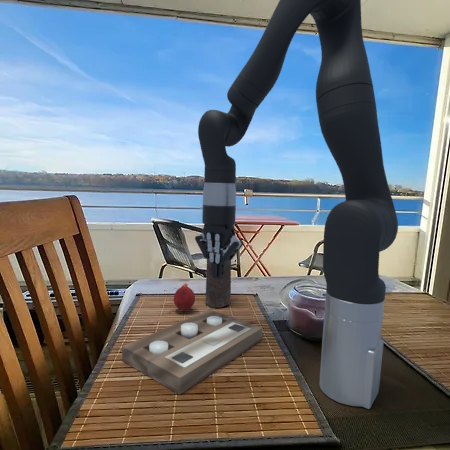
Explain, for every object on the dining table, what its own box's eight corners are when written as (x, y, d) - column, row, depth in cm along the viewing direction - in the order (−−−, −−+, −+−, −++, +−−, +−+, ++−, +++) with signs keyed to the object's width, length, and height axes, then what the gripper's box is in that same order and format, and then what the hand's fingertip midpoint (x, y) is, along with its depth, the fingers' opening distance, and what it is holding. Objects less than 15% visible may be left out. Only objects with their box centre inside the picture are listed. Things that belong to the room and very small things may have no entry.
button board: (261, 340, 75) (262, 326, 75) (179, 394, 55) (180, 376, 54) (208, 320, 85) (209, 308, 84) (122, 360, 64) (122, 344, 64)
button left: (171, 356, 65) (172, 344, 64) (157, 364, 62) (157, 351, 62) (159, 350, 67) (159, 338, 67) (145, 357, 64) (145, 345, 64)
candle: (202, 300, 100) (204, 235, 97) (225, 298, 102) (228, 234, 99) (209, 309, 92) (211, 239, 90) (233, 307, 94) (236, 239, 92)
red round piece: (190, 316, 87) (191, 287, 86) (170, 314, 88) (170, 285, 87) (197, 309, 92) (197, 281, 91) (177, 306, 94) (178, 279, 93)
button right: (224, 328, 78) (225, 318, 78) (215, 333, 75) (215, 323, 75) (213, 324, 80) (213, 314, 80) (203, 329, 77) (203, 319, 77)
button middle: (200, 336, 71) (201, 325, 71) (189, 342, 68) (189, 331, 68) (189, 331, 73) (189, 321, 73) (177, 337, 71) (177, 326, 70)
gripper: (252, 204, 73) (250, 280, 75) (207, 201, 81) (206, 270, 83) (233, 205, 67) (230, 287, 69) (186, 202, 75) (185, 275, 77)
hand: (217, 277), depth 76 cm, fingers closed
